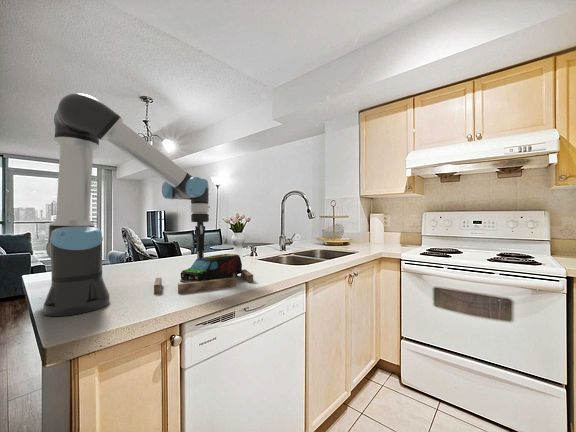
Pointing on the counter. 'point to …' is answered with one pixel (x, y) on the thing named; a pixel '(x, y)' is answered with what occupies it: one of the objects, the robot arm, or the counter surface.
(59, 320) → the counter surface
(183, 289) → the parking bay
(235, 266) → the toy van
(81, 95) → the robot arm
